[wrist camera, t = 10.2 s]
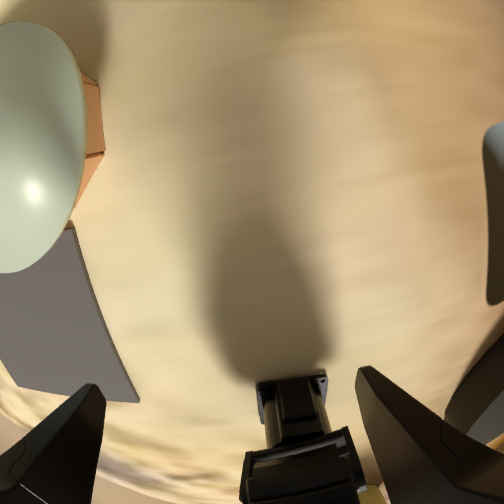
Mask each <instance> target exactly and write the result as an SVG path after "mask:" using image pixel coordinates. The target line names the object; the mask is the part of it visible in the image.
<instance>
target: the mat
mask: <svg viewBox="0 0 504 504" xmlns="http://www.w3.org/2000/svg"><path fill="white" fill-rule="evenodd" d="M0 359H1V361H2V363H3V364H4V366H5V368H6V369H7V371H8V372H9V374H10V375H11V377H12V378H13V380H14V381H15V383H16V384H17V386H19V387H23V388H28V389H32V390H37V391H42V392H48V393H53V394H59V395H65V396H72V395H73V394H74V393H75V392H76V391H78V390H79V389H80V388H81V387H82V386H83V385H85V384H86V383H93V384H97V385H98V387H99V388H100V390H101V392H102V393H103V395H104V397H105V399H106V401H116V402H130V403H139V402H140V398H139V396H138V394H137V392H136V390H135V388H134V386H133V384H132V382H131V380H130V378H129V376H128V374H127V372H126V370H125V368H124V366H123V364H122V361H121V359H120V357H119V355H118V352H117V350H116V348H115V346H114V343H113V341H112V339H111V336H110V334H109V331H108V329H107V326H106V324H105V321H104V319H103V316H102V313H101V311H100V308H99V305H98V303H97V300H96V297H95V294H94V291H93V288H92V285H91V282H90V279H89V276H88V273H87V270H86V267H85V263H84V260H83V257H82V253H81V250H80V246H79V242H78V239H77V235H76V231H75V227H72V228H66V229H64V230H63V232H62V234H61V236H60V237H59V238H58V240H57V241H56V242H55V244H54V245H53V247H52V248H51V249H50V250H49V251H48V252H47V253H46V254H45V255H44V256H43V257H41V258H40V259H39V260H38V261H36V262H35V263H33V264H32V265H31V266H29V267H27V268H25V269H23V270H21V271H17V272H13V273H0Z"/></svg>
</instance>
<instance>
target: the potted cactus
mask: <svg viewBox="0 0 504 504" xmlns="http://www.w3.org/2000/svg"><path fill="white" fill-rule="evenodd" d="M366 486H367V491H366V492H363V493H359V494H358V496H359V500H360V504H387V503H386V501H385V499H384V497H383V495H382V493H381V492H380V490H379V488H378V487H377V486H376V485H366Z"/></svg>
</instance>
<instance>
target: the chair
mask: <svg viewBox="0 0 504 504" xmlns="http://www.w3.org/2000/svg"><path fill="white" fill-rule="evenodd" d="M444 420H445V421H446V422H448V423H449V424H450V425H452V426H453V427H455V428H456V429H458V430H459V431H461V432H462V433H464V434H466V435H468V436H469V437H471V438H473V439H475V440H476V441H478V442H480V443H482V444H484V445H486V444H487V443H489V442H490V441H492V440H494V439H495V438H497V437H498V436H500V435H501V434H502V433H503V432H504V333H503V335H502V336H501V337H500V338H499V339H498V340H497V341H496V342H495V343H494V344H493V345H492V346H491V347H490V348H489V349H488V350H487V351H486V352H485V354H484V355H483V356H482V357H481V359H480V360H479V361H478V362H477V364H476V365H475V366H474V367H473V368H472V369H471V371H470V372H469V373H468V374H467V376H466V377H465V379H464V380H463V381H462V383H461V384H460V386H459V387H458V389H457V390H456V391H455V393H454V394H453V396H452V398H451V400H450V402H449V404H448V406H447V408H446V410H445V418H444Z"/></svg>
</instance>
